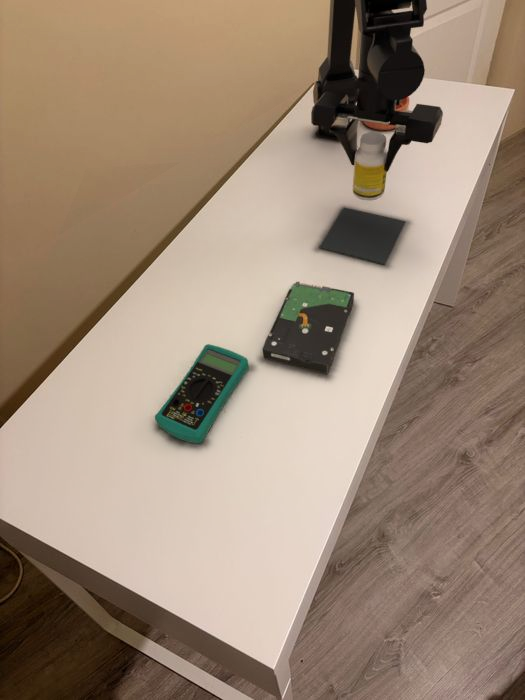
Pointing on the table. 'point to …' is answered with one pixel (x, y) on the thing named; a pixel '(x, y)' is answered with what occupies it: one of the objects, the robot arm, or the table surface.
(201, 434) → the digital multimeter
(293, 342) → the disk drive
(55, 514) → the table surface
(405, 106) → the dish
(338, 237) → the mat
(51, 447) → the table surface
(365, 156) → the supplement bottle
